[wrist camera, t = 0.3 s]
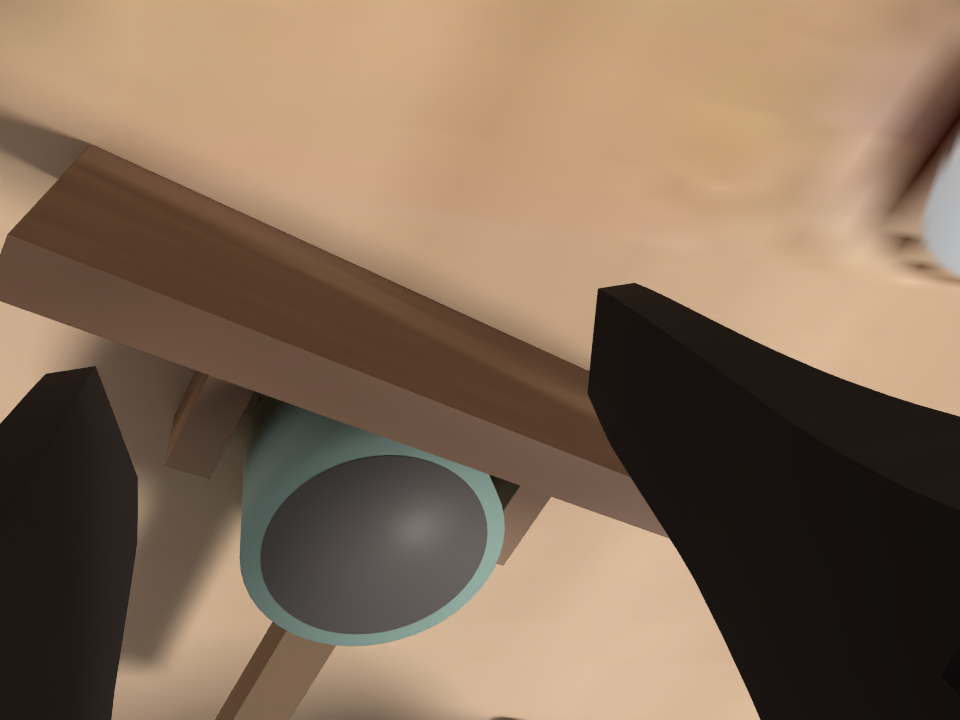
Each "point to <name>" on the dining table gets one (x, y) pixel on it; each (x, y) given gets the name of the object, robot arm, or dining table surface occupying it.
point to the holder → (306, 340)
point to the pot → (349, 546)
